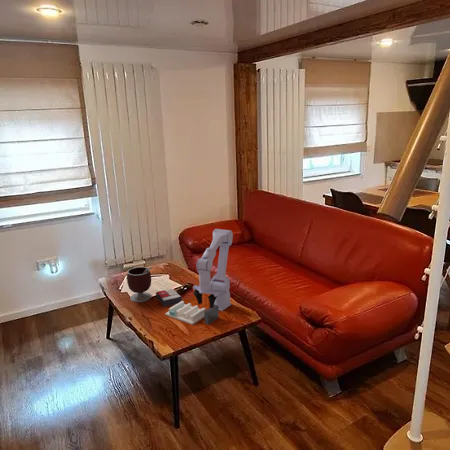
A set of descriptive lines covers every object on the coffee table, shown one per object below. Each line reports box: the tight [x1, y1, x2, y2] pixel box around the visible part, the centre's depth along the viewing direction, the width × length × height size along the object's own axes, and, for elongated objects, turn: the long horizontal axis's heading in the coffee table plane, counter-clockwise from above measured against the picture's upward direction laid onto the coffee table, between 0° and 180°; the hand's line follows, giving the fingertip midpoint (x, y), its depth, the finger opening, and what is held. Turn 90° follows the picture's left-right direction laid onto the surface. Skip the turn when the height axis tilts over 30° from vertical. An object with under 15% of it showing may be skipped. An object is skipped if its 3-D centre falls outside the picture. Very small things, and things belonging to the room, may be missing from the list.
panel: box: [203, 304, 220, 325], centre depth 203 cm, size 9×2×7 cm, turn 145°
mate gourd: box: [126, 266, 153, 303], centre depth 228 cm, size 16×14×20 cm
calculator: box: [155, 287, 183, 307], centre depth 228 cm, size 11×4×15 cm
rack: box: [164, 300, 206, 326], centre depth 210 cm, size 14×19×4 cm
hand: (205, 305), depth 199 cm, fingers open, 7 cm apart
